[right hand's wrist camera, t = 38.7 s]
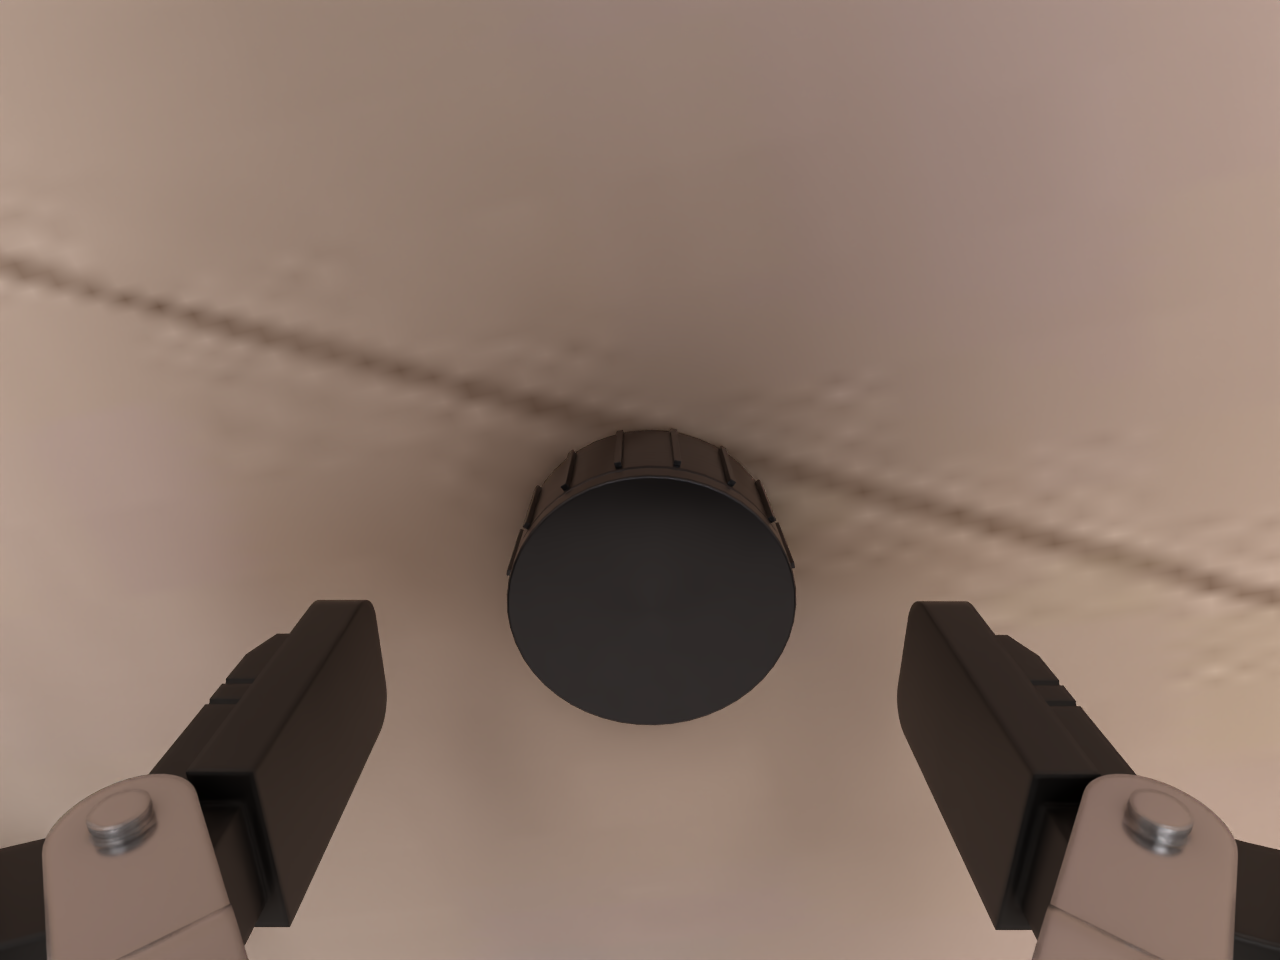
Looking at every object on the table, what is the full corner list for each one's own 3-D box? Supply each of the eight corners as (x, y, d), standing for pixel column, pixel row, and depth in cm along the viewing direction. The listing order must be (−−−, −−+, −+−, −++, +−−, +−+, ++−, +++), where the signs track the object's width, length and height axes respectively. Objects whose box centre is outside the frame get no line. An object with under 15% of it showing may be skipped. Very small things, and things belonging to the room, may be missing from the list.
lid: (772, 651, 15) (792, 725, 13) (533, 657, 15) (516, 731, 13) (782, 423, 13) (808, 468, 11) (511, 430, 13) (489, 477, 11)
